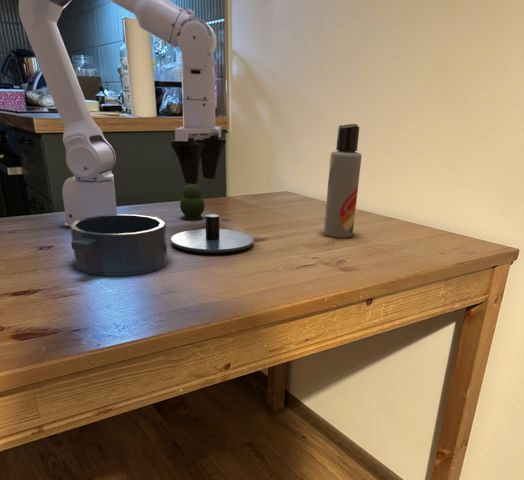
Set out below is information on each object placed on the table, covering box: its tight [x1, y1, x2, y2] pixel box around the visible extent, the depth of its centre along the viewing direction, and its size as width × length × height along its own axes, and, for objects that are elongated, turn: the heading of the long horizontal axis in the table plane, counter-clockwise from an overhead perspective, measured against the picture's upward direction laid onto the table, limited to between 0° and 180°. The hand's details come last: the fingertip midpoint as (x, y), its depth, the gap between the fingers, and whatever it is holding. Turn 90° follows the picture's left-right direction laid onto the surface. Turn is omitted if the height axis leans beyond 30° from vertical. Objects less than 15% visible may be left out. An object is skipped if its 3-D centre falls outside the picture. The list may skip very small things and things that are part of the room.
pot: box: [69, 213, 168, 277], centre depth 76 cm, size 14×19×6 cm
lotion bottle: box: [323, 123, 363, 239], centre depth 94 cm, size 6×6×20 cm
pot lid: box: [170, 213, 255, 254], centre depth 88 cm, size 15×15×5 cm
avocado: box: [179, 184, 206, 221], centre depth 106 cm, size 5×5×7 cm
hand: (200, 180), depth 94 cm, fingers open, 7 cm apart
